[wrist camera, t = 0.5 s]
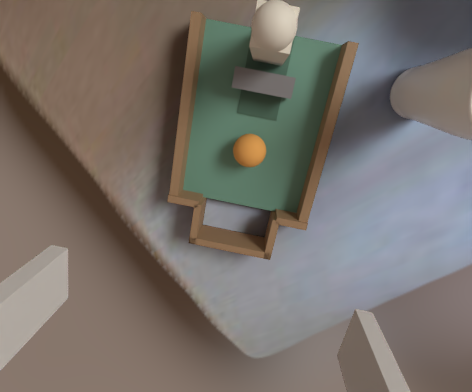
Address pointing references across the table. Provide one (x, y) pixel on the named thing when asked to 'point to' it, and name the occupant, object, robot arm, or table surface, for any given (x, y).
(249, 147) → the ball
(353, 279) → the table surface
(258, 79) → the striker
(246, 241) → the pitch
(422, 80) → the drinking glass
